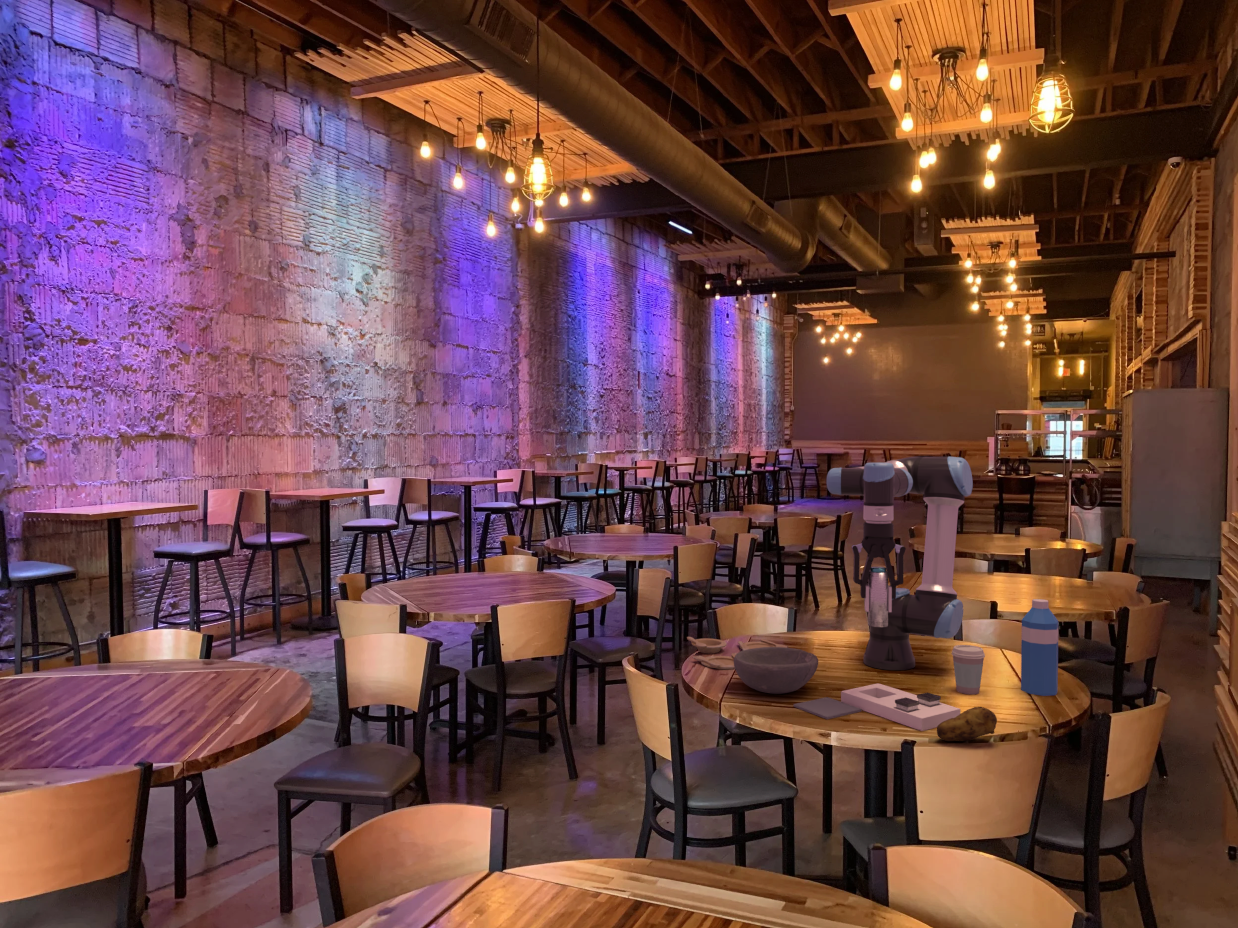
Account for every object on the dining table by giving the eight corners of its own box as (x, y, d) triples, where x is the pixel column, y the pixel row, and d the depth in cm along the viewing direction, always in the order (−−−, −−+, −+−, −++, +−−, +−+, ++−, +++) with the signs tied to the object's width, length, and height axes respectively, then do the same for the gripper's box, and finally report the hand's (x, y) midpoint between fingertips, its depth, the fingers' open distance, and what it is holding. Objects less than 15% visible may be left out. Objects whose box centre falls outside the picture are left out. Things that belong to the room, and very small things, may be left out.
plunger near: (894, 713, 212) (894, 699, 212) (905, 710, 215) (906, 697, 214) (907, 717, 209) (908, 704, 209) (919, 715, 211) (919, 701, 211)
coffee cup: (983, 688, 239) (983, 645, 239) (985, 697, 231) (986, 652, 231) (950, 685, 242) (950, 643, 241) (951, 694, 234) (952, 650, 233)
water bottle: (1062, 696, 231) (1063, 604, 230) (1025, 694, 233) (1026, 602, 232) (1052, 686, 240) (1053, 597, 239) (1016, 685, 242) (1017, 596, 241)
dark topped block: (916, 708, 217) (916, 694, 217) (927, 705, 219) (927, 692, 219) (929, 712, 213) (930, 698, 213) (940, 709, 215) (940, 696, 215)
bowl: (765, 673, 254) (766, 640, 254) (832, 689, 238) (833, 653, 238) (716, 689, 238) (716, 654, 238) (784, 707, 222) (784, 669, 222)
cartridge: (868, 626, 223) (868, 568, 222) (867, 622, 227) (867, 566, 227) (888, 627, 222) (889, 569, 221) (887, 623, 226) (887, 566, 226)
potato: (936, 732, 203) (936, 698, 203) (995, 738, 199) (995, 704, 199) (936, 744, 196) (936, 709, 195) (998, 751, 191) (998, 715, 191)
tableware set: (704, 672, 257) (704, 659, 257) (675, 649, 286) (675, 637, 286) (812, 665, 265) (812, 652, 265) (773, 643, 294) (773, 631, 294)
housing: (841, 702, 227) (841, 691, 226) (878, 694, 234) (878, 683, 234) (921, 730, 204) (922, 718, 204) (960, 720, 212) (960, 708, 211)
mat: (793, 706, 223) (793, 704, 223) (827, 699, 229) (827, 696, 229) (827, 719, 213) (827, 716, 213) (861, 711, 219) (861, 708, 219)
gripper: (844, 522, 221) (844, 612, 222) (917, 523, 219) (916, 614, 219) (841, 520, 229) (841, 607, 229) (911, 520, 226) (911, 608, 227)
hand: (877, 610), depth 224 cm, fingers closed on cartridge, 5 cm apart
